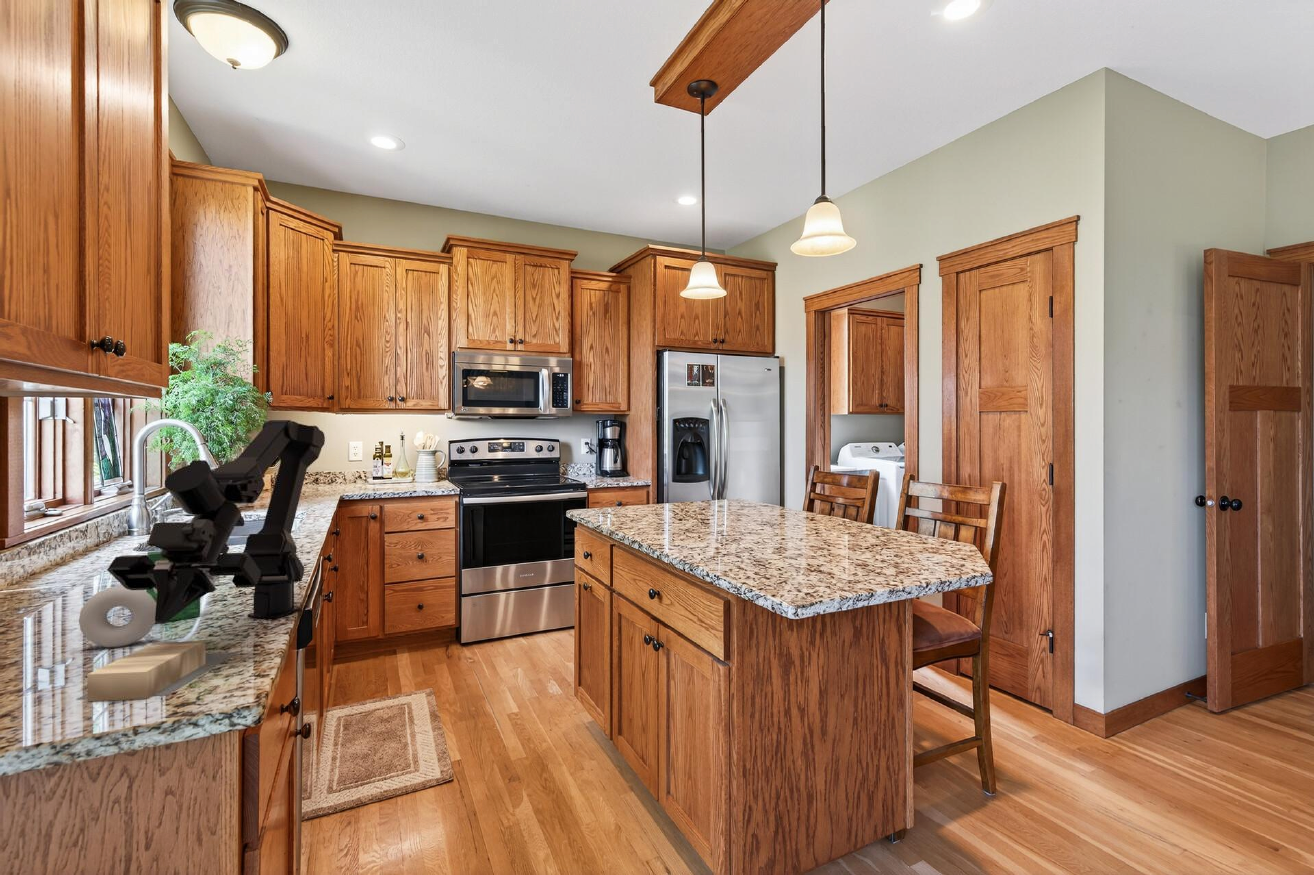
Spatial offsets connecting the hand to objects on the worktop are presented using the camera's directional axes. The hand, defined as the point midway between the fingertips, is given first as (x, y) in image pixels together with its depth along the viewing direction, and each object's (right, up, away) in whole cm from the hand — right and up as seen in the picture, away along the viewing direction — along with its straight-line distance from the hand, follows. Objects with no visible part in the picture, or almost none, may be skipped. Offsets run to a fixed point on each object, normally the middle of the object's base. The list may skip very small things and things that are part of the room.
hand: (159, 622), depth 86 cm
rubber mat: (0, -8, +1) cm, 8 cm away
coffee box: (-20, -8, +28) cm, 35 cm away
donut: (-17, -8, +13) cm, 23 cm away
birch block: (0, -6, +4) cm, 7 cm away
